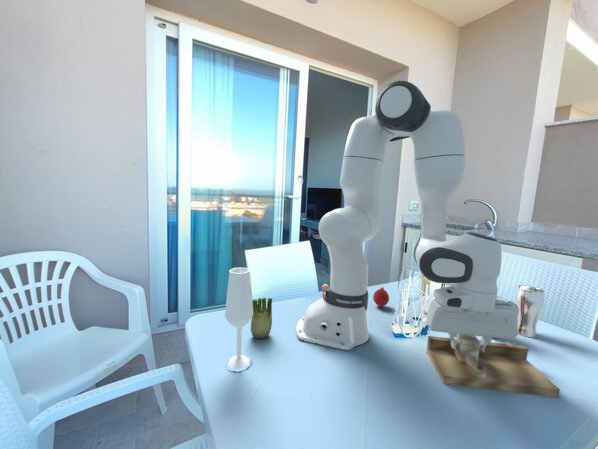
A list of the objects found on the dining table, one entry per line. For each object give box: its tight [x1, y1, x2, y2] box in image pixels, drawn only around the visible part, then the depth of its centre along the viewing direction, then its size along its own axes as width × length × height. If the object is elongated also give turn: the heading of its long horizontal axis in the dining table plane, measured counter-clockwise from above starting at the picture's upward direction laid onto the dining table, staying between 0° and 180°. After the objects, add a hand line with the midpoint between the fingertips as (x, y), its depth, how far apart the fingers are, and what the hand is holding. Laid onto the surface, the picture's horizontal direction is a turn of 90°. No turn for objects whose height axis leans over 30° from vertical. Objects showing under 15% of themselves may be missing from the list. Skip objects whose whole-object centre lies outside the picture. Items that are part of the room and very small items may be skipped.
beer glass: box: [514, 284, 546, 339], centre depth 86 cm, size 7×7×15 cm
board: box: [426, 335, 561, 399], centre depth 66 cm, size 24×12×5 cm, turn 82°
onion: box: [372, 286, 390, 308], centre depth 102 cm, size 6×6×8 cm
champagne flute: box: [224, 267, 253, 369], centre depth 65 cm, size 7×7×24 cm
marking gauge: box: [453, 334, 486, 379], centre depth 66 cm, size 4×10×6 cm, turn 172°
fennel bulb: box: [250, 297, 273, 339], centre depth 78 cm, size 6×5×12 cm
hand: (467, 349), depth 68 cm, fingers open, 4 cm apart
